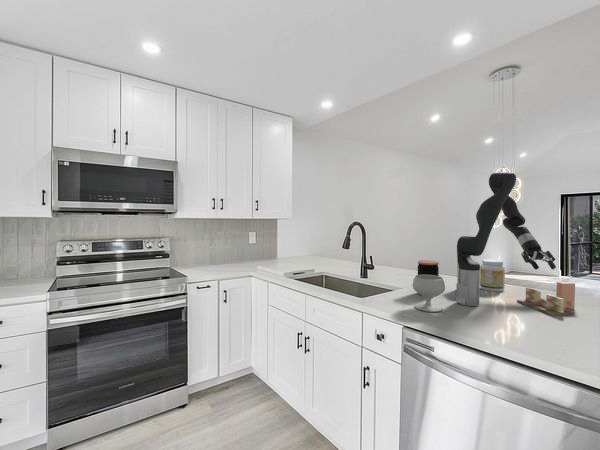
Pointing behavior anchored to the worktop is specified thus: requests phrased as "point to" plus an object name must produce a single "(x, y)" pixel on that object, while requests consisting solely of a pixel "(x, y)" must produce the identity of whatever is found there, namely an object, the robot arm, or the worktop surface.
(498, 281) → the supplement tub
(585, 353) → the worktop surface
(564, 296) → the slotted upright
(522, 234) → the robot arm
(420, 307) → the chalice
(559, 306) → the ridged rail
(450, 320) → the worktop surface
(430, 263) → the coffee jar
